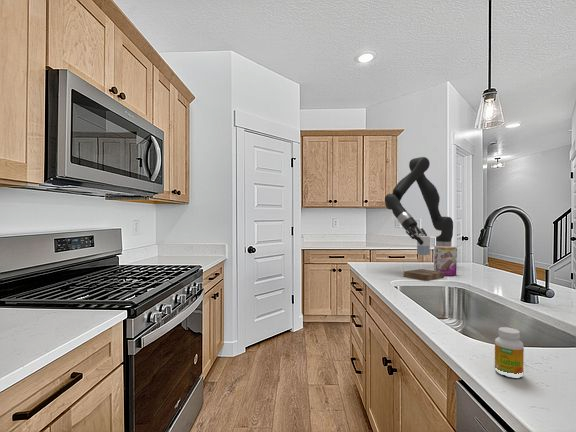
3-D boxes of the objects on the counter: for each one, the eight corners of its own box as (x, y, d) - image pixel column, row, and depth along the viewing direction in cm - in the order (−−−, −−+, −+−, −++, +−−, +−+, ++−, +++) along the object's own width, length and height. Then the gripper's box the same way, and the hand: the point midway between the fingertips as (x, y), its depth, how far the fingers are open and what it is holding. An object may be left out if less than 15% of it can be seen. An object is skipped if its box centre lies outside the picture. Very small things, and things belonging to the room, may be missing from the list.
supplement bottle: (497, 377, 75) (497, 332, 75) (492, 366, 80) (492, 324, 80) (526, 381, 73) (526, 335, 73) (519, 370, 78) (520, 327, 78)
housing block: (422, 253, 195) (422, 236, 195) (429, 254, 191) (429, 236, 191) (417, 254, 192) (417, 236, 192) (424, 255, 189) (424, 236, 189)
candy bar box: (436, 275, 197) (436, 247, 196) (433, 274, 202) (433, 246, 201) (457, 276, 195) (457, 247, 195) (453, 274, 200) (453, 246, 200)
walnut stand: (421, 274, 202) (421, 268, 202) (443, 277, 191) (443, 272, 191) (403, 276, 193) (403, 271, 193) (425, 280, 182) (425, 275, 182)
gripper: (402, 216, 195) (421, 239, 185) (418, 216, 203) (437, 238, 193) (395, 225, 199) (412, 248, 189) (410, 225, 207) (428, 247, 197)
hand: (425, 243), depth 191 cm, fingers closed on housing block, 5 cm apart
